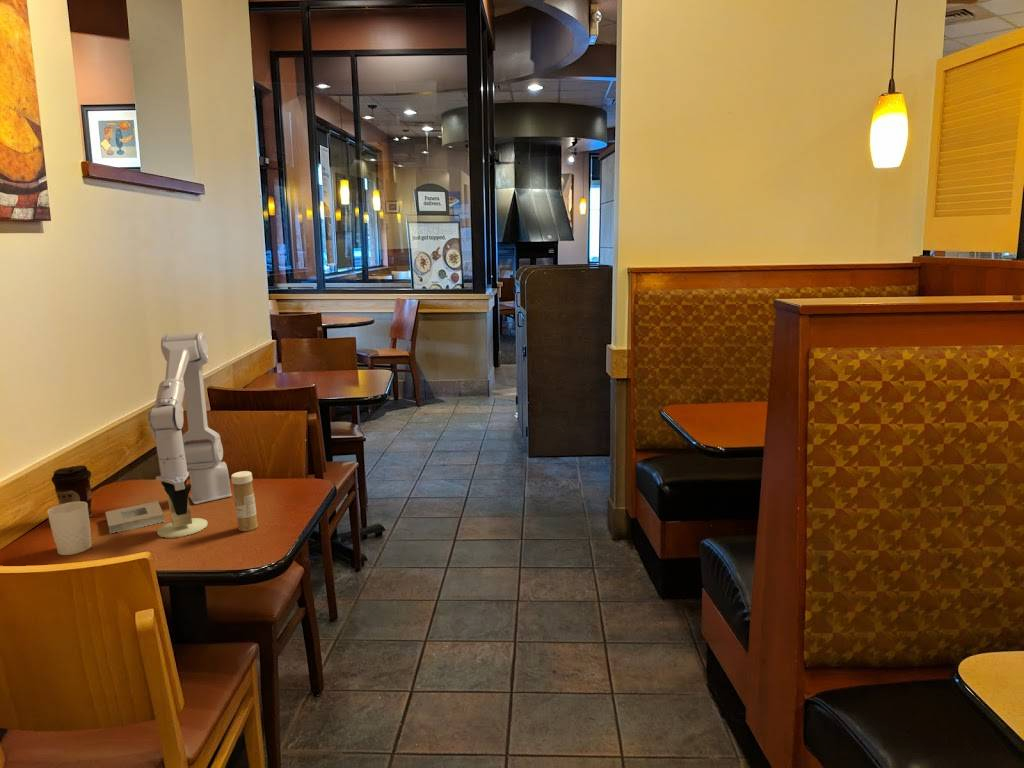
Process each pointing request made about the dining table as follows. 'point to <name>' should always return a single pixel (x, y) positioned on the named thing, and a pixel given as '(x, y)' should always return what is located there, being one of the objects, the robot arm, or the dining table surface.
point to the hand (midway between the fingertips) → (180, 511)
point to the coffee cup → (73, 485)
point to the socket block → (134, 517)
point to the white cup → (70, 527)
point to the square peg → (179, 519)
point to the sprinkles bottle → (244, 500)
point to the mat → (182, 529)
